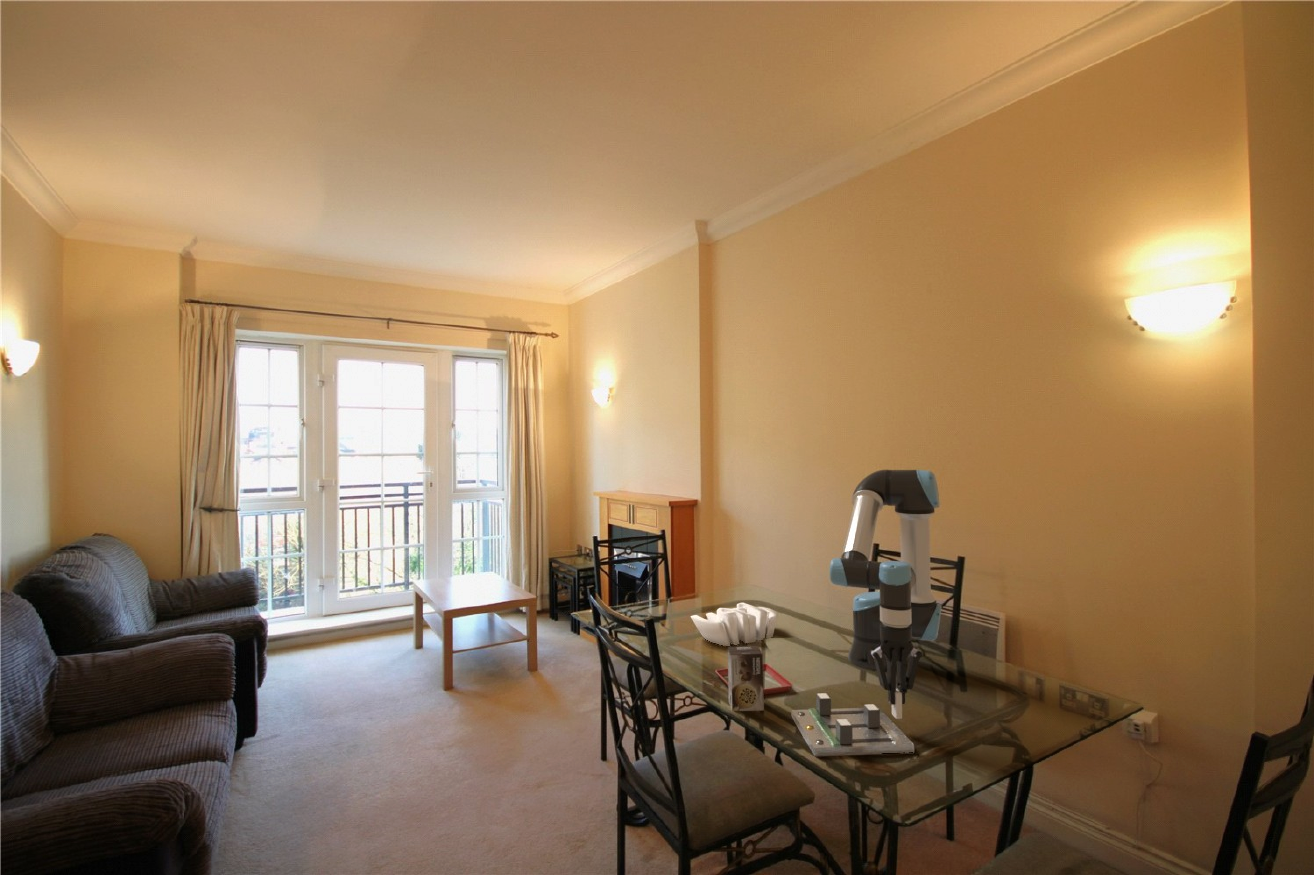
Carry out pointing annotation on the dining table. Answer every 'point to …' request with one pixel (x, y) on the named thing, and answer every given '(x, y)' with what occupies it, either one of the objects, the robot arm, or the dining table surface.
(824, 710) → the breaker
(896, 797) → the dining table surface
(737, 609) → the wavy white extrusion
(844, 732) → the block
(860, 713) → the slider switch panel
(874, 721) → the block
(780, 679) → the plant saucer
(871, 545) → the robot arm
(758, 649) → the coffee box
